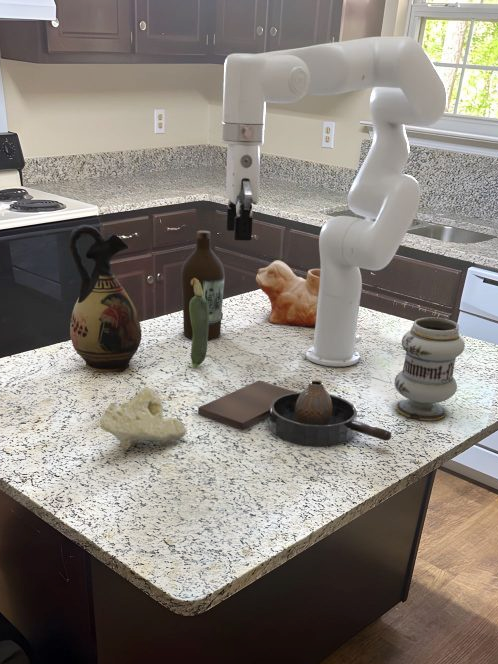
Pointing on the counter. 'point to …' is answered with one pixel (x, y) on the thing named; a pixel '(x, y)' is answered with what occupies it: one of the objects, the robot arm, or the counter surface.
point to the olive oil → (203, 284)
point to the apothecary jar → (428, 367)
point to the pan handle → (370, 430)
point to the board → (244, 405)
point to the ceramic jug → (103, 307)
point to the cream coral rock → (141, 420)
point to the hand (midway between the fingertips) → (238, 235)
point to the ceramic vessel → (290, 294)
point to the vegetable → (199, 324)
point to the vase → (314, 405)
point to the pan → (311, 435)
